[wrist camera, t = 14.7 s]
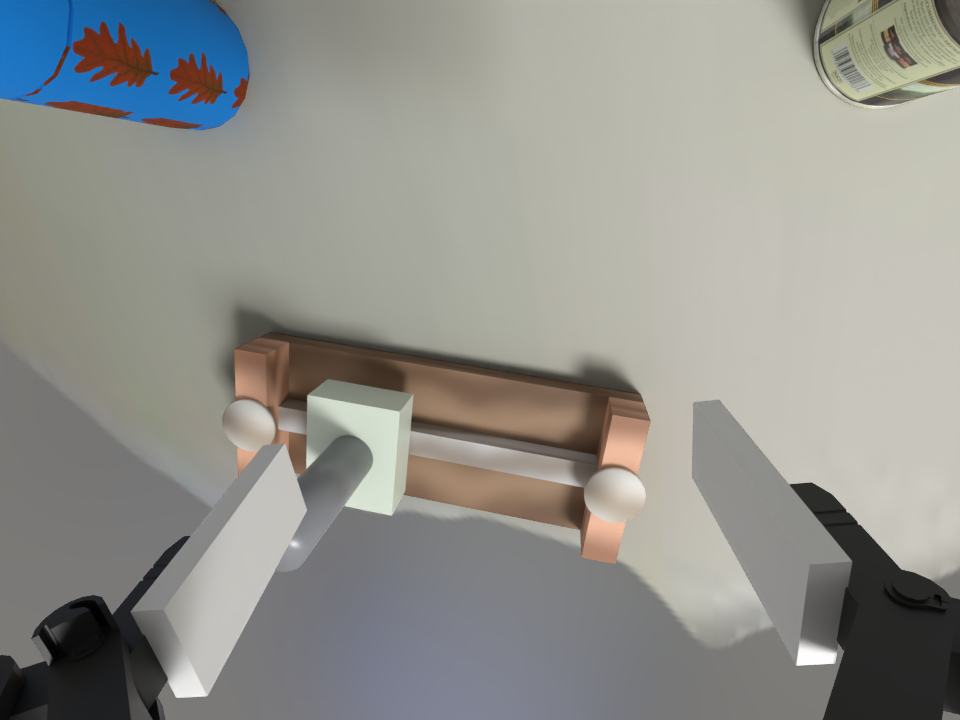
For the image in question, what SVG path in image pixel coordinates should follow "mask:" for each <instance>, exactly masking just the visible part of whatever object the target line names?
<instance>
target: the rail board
mask: <svg viewBox="0 0 960 720" xmlns="http://www.w3.org/2000/svg"><path fill="white" fill-rule="evenodd" d="M234 359H235V390H236V401H235V402H234V403H232V404H231V405H229V406H228V407H227V408H226V410H225V411H224V414H223V418H222V423H223V428H224V431H225V433H226V435H227V437H228V438H229V439H230V441H231V442H232V443H234V444H235V445H236V446H237V454H238V476H239V475H240V474H241V472H242V471H243V470H244V469H245V467H246V466H247V465H248V464H249V462H250V461H251V460H252V459H253V457H254V456H255V455H256V454H257V452H258V451H259V450H260V449H261V447H262V446H263V445H272V444H282V443H285V444H286V448H287V451H288V454H289V457H290V460H291V463H292V466H293V469H294V472H295V473H297V474H302V473H303V472H304V471H305V470H306V450H307V395H308V394H309V393H311V392H312V391H313V390H315V389H316V388H317V387H318V386H320V385H321V384H322V383H324V382H325V381H326V380H328V379H331V380H336V381H342V382H348V383H353V384H359V385H365V386H370V387H376V388H382V389H387V390H393V391H399V392H404V393H410V394H414V395H413V406H412V418H411V430H410V441H409V453H408V464H407V476H406V488H405V492H404V494H403V495H407V496H412V497H417V498H422V499H427V500H432V501H437V502H442V503H447V504H452V505H457V506H462V507H467V508H472V509H477V510H482V511H487V512H492V513H497V514H502V515H507V516H512V517H517V518H522V519H527V520H532V521H537V522H542V523H547V524H552V525H557V526H562V527H567V528H572V529H577V530H580V534H581V557H583V558H588V559H593V560H598V561H602V562H608V563H612V564H615V563H616V559H617V555H618V551H619V547H620V543H621V539H622V535H623V531H624V527H625V523H626V521H628V520H630V519H632V518H634V517H635V516H637V515H638V514H639V513H640V512H641V510H642V509H643V507H644V504H645V500H646V494H645V489H644V486H643V483H642V481H641V480H640V478H639V477H638V476H637V474H638V470H639V466H640V462H641V458H642V454H643V450H644V446H645V442H646V438H647V434H648V430H649V426H650V422H651V421H650V418H649V416H648V413H647V410H646V407H645V405H644V402H643V399H642V396H641V394H635V393H629V392H623V391H617V390H611V389H605V388H599V387H594V386H588V385H582V384H576V383H570V382H564V381H558V380H552V379H546V378H540V377H534V376H528V375H522V374H516V373H510V372H504V371H498V370H492V369H486V368H481V367H475V366H469V365H463V364H457V363H451V362H445V361H439V360H433V359H427V358H421V357H415V356H409V355H403V354H397V353H391V352H385V351H379V350H373V349H367V348H362V347H356V346H350V345H344V344H338V343H332V342H326V341H320V340H314V339H308V338H302V337H296V336H290V335H284V334H278V333H272V332H270V333H268V334H266V335H264V336H262V337H259V338H257V339H255V340H253V341H251V342H249V343H246V344H244V345H242V346H240V347H238V348H235V349H234Z"/></svg>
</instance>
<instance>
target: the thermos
mask: <svg viewBox="0 0 960 720" xmlns="http://www.w3.org/2000/svg"><path fill="white" fill-rule="evenodd" d="M248 80H249V67H248V56H247V50H246V48H245V45H244V43H243V40H242V38H241V35H240V33H239V30H238V28H237V27H236V26H235V24H234V23H233V22H232V21H231V19H230V18H229V17H228V15H227V14H226V13H225V12H224V10H222V9H221V8H219V7H218V6H216V5H215V4H213V3H212V2H210V1H209V0H0V98H2V99H9V100H14V101H20V102H25V103H31V104H37V105H43V106H49V107H55V108H60V109H66V110H72V111H78V112H84V113H90V114H95V115H101V116H107V117H113V118H119V119H125V120H130V121H136V122H142V123H148V124H154V125H160V126H165V127H171V128H183V129H194V130H205V129H210V128H214V127H219V126H221V125H222V124H223V123H225V122H226V121H228V120H229V119H230V118H232V117H233V116H234V115H235V114H236V112H237V110H238V109H239V107H240V105H241V104H242V102H243V100H244V99H245V95H246V90H247V85H248Z"/></svg>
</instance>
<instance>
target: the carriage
mask: <svg viewBox="0 0 960 720" xmlns="http://www.w3.org/2000/svg"><path fill="white" fill-rule="evenodd" d="M413 395H414V394H410V393H404V392H399V391H393V390H387V389H382V388H376V387H370V386H365V385H359V384H353V383H348V382H342V381H336V380H331V379H328V380H326V381H325V382H324V383H322V384H321V385H320V386H318V387H317V388H316V389H315V390H313V391H312V392H311V393H309V394H308V395H307V450H306V470H305V471H304V472H303V473H302V474H301V475H300V476H299V477H298V478H297V481H298V484H299V487H300V490H301V493H302V496H303V499H304V502H305V505H306V508H307V512H306V513H305V515H304V517H303V519H302V521H301V523H300V525H299V526H298V528H297V530H296V532H295V534H294V536H293V538H292V540H291V541H290V543H289V545H288V547H287V549H286V551H285V553H284V554H283V556H282V558H281V560H280V562H279V564H278V566H277V567H276V569H275V571H279V572H289V571H293V570H295V569H297V568H298V567H300V566H301V565H302V563H303V562H304V561H305V559H306V558H307V556H308V555H309V553H310V552H311V551H312V550H313V548H314V547H315V546H316V544H317V543H318V541H319V540H320V539H321V537H322V536H323V534H324V533H325V532H326V530H327V529H328V527H329V526H330V525H331V523H332V522H333V521H334V519H335V518H336V516H337V515H338V514H339V512H340V511H341V509H342V508H343V507H344V506H348V507H353V508H357V509H362V510H367V511H372V512H377V513H382V514H387V515H392V514H393V512H394V511H395V509H396V507H397V505H398V503H399V501H400V500H401V498H402V496H403V494H404V492H405V488H406V476H407V464H408V453H409V441H410V430H411V418H412V406H413Z"/></svg>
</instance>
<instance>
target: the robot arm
mask: <svg viewBox="0 0 960 720" xmlns="http://www.w3.org/2000/svg"><path fill="white" fill-rule="evenodd" d="M692 478H693V480H694V481H695V483H696V485H697V487H698V489H699V490H700V492H701V494H702V496H703V498H704V499H705V501H706V503H707V505H708V507H709V509H710V510H711V512H712V514H713V516H714V518H715V519H716V521H717V523H718V525H719V527H720V528H721V530H722V532H723V534H724V536H725V537H726V539H727V541H728V543H729V545H730V546H731V548H732V550H733V552H734V554H735V555H736V557H737V559H738V561H739V563H740V565H741V566H742V568H743V570H744V572H745V574H746V575H747V577H748V579H749V581H750V583H751V584H752V586H753V588H754V590H755V592H756V593H757V595H758V597H759V599H760V601H761V602H762V604H763V606H764V608H765V610H766V611H767V613H768V615H769V617H770V619H771V621H772V622H773V624H774V626H775V628H776V630H777V631H778V633H779V635H780V637H781V638H782V640H783V642H784V644H785V646H786V648H787V649H788V651H789V653H790V655H791V657H792V658H793V660H794V662H795V664H796V665H813V664H814V665H815V664H833V663H835V660H836V655H837V649H838V643H839V644H840V646H841V647H842V649H843V650H844V654H843V657H842V660H841V664H840V667H839V670H838V673H837V676H836V680H835V683H834V686H833V689H832V693H831V696H830V699H829V702H828V705H827V708H826V712H825V715H824V718H823V720H942V714H943V711H947V712H951V713H955V714H959V715H960V600H959V599H955V598H951V597H950V596H949V595H948V594H947V592H946V591H945V590H944V589H942V588H941V587H940V586H938V585H937V584H935V583H934V582H933V581H931V580H929V579H927V578H925V577H923V576H921V575H918V574H916V573H913V572H909V571H905V570H901V569H900V568H899V567H898V565H897V564H896V563H895V562H894V561H893V560H892V559H891V558H890V557H889V556H888V555H887V553H886V552H885V551H884V550H883V549H882V548H881V547H880V546H879V545H878V544H877V543H876V542H875V540H874V539H873V538H872V537H871V536H870V535H869V534H868V533H867V532H866V531H865V530H864V529H863V527H862V526H861V525H858V523H857V521H856V520H855V519H854V518H853V517H852V516H851V514H850V513H847V512H846V509H845V508H844V507H843V506H842V505H841V504H840V503H839V501H838V500H837V499H836V498H835V497H834V496H833V495H832V494H830V493H829V492H827V491H825V490H823V489H822V488H820V487H818V486H817V485H815V484H813V483H800V484H788V483H787V481H786V480H785V479H784V478H783V477H782V475H781V474H780V473H779V472H778V471H777V469H776V468H775V467H774V466H773V464H772V463H771V462H770V461H769V460H768V458H767V457H766V456H765V455H764V454H763V452H762V451H761V450H760V449H759V447H758V446H757V445H756V444H755V443H754V441H753V440H752V439H751V438H750V437H749V435H748V434H747V433H746V432H745V430H744V429H743V428H742V427H741V426H740V424H739V423H738V422H737V421H736V420H735V418H734V417H733V416H732V415H731V413H730V412H729V411H728V410H727V409H726V407H725V406H724V405H723V404H722V403H721V401H720V400H712V401H702V402H693V453H692ZM306 512H307V508H306V505H305V502H304V499H303V496H302V493H301V490H300V487H299V484H298V481H297V478H296V475H295V472H294V469H293V466H292V463H291V460H290V457H289V454H288V451H287V448H286V444H285V443H282V444H272V445H263V446H262V447H261V449H260V450H259V451H258V452H257V454H256V455H255V456H254V457H253V459H252V460H251V461H250V462H249V464H248V465H247V466H246V467H245V469H244V470H243V471H242V472H241V474H240V475H239V476H238V478H237V479H236V480H235V481H234V483H233V484H232V485H231V486H230V488H229V489H228V490H227V491H226V493H225V494H224V495H223V496H222V498H221V499H220V500H219V501H218V503H217V504H216V505H215V506H214V508H213V509H212V510H211V511H210V513H209V514H208V515H207V516H206V518H205V519H204V520H203V521H202V523H201V524H200V525H199V526H198V528H197V529H196V530H195V532H194V533H193V534H192V535H191V536H184V537H183V538H181V539H180V540H179V541H177V542H176V543H175V544H173V545H172V546H171V547H170V548H168V549H167V550H166V551H165V552H164V553H163V555H162V556H161V557H160V558H159V559H158V561H157V562H156V563H155V564H154V567H153V568H151V569H150V570H149V571H148V573H147V574H146V575H145V576H144V577H143V581H140V582H139V583H138V585H137V586H136V587H135V588H134V589H133V591H132V592H131V593H130V594H129V596H128V597H127V598H126V599H125V600H124V601H123V603H122V604H121V605H120V606H119V608H118V609H117V610H116V611H115V613H114V614H113V615H112V614H111V612H110V611H109V609H108V607H107V605H106V603H105V602H104V600H103V598H102V597H99V596H95V595H92V596H86V597H81V598H79V599H76V600H74V601H71V602H69V603H67V604H65V605H64V606H62V607H60V608H58V609H57V610H55V611H54V612H53V613H51V614H50V615H49V616H48V617H46V618H45V619H44V620H43V621H42V622H41V623H40V625H39V626H38V627H37V628H36V629H35V631H34V634H33V636H32V638H31V639H32V641H33V642H34V644H35V645H36V647H37V648H38V650H39V651H40V653H41V655H42V656H43V658H44V659H45V661H44V662H41V663H38V664H34V665H32V666H29V667H25V668H22V669H20V668H19V667H18V665H17V664H16V662H15V661H14V660H13V658H11V656H4V655H1V656H0V720H165V716H164V710H163V706H162V704H161V702H160V700H159V699H158V697H157V696H158V695H159V693H160V691H161V690H162V688H163V687H164V685H165V683H166V682H167V681H168V682H169V684H170V686H171V688H172V690H173V692H174V694H175V696H176V697H177V698H180V697H199V696H208V694H209V692H210V690H211V688H212V686H213V685H214V683H215V681H216V679H217V677H218V675H219V673H220V672H221V670H222V668H223V666H224V664H225V662H226V660H227V659H228V657H229V655H230V653H231V651H232V649H233V647H234V646H235V644H236V642H237V640H238V638H239V636H240V634H241V633H242V630H243V629H244V627H245V625H246V623H247V621H248V619H249V618H250V616H251V614H252V612H253V610H254V608H255V606H256V605H257V603H258V601H259V599H260V597H261V595H262V593H263V592H264V590H265V588H266V586H267V584H268V582H269V580H270V579H271V577H272V575H273V573H274V571H275V569H276V567H277V566H278V564H279V562H280V560H281V558H282V556H283V554H284V553H285V551H286V549H287V547H288V545H289V543H290V541H291V540H292V538H293V536H294V534H295V532H296V530H297V528H298V526H299V525H300V523H301V521H302V519H303V517H304V515H305V513H306Z"/></svg>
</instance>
